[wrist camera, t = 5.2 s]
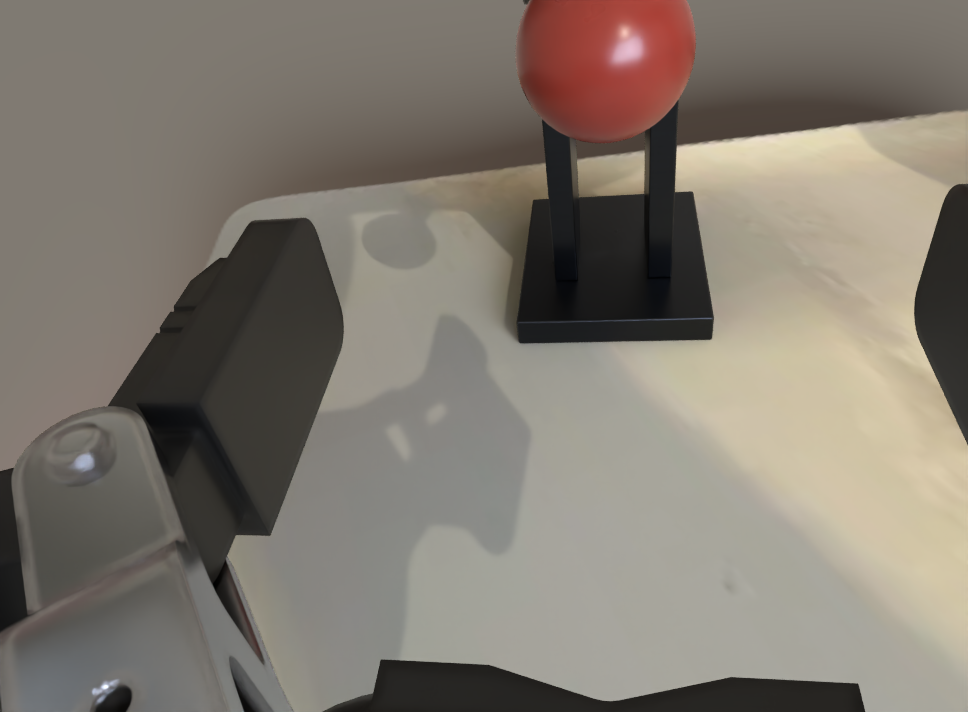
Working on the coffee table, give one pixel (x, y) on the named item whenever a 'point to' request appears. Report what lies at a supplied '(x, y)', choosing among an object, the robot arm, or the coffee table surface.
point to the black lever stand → (614, 254)
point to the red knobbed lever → (604, 63)
